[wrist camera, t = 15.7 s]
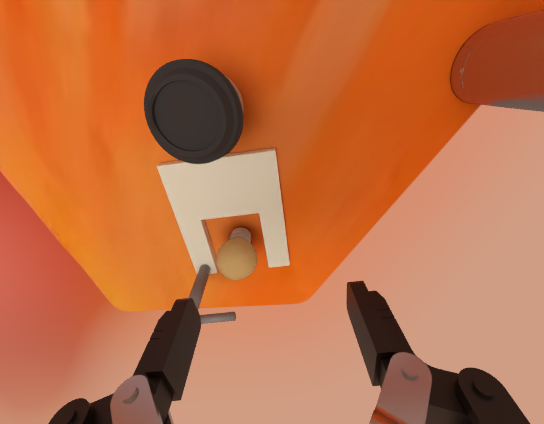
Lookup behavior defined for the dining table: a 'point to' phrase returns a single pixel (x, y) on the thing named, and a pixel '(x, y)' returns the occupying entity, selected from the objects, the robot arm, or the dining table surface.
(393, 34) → the dining table surface
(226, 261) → the light bulb
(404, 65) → the dining table surface
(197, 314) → the robot arm
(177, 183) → the cream u-shaped stand
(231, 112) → the coffee cup
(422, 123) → the dining table surface
